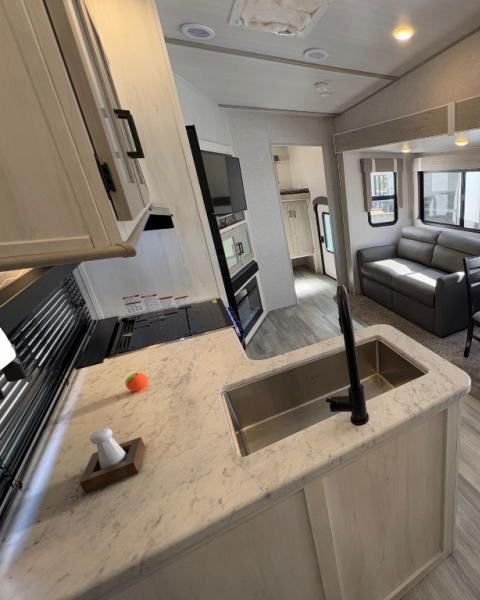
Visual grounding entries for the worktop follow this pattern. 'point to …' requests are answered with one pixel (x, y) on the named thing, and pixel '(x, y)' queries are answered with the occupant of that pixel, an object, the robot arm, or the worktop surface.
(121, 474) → the holder
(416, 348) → the worktop surface
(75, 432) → the worktop surface
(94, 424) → the worktop surface
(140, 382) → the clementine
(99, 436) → the salt shaker
